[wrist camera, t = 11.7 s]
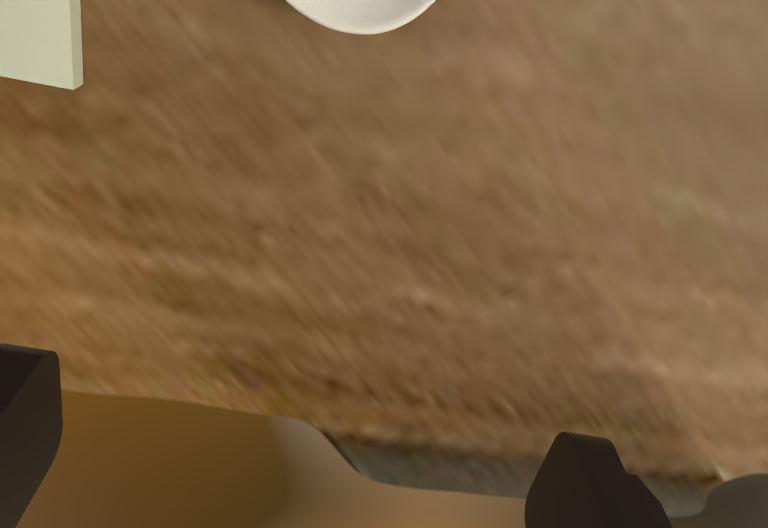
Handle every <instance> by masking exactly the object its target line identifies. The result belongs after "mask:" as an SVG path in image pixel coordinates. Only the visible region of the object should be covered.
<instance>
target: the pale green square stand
mask: <svg viewBox="0 0 768 528" xmlns="http://www.w3.org/2000/svg"><path fill="white" fill-rule="evenodd" d="M0 76H3V77H8V78H14V79H19V80H24V81H29V82H35V83H40V84H45V85H50V86H56V87H61V88H66V89H71V90H74V89H76V88H77V87H79V86H81V85H82V84H83V61H82V34H81V7H80V0H0Z"/></svg>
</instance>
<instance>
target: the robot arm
mask: <svg viewBox="0 0 768 528" xmlns="http://www.w3.org/2000/svg"><path fill="white" fill-rule="evenodd" d="M61 402H62V401H61V384H60V368H59V358H58V355H57V353H55V352H54V351H48V350H42V349H35V348H29V347H22V346H16V345H9V344H0V528H15V527H16V526H17V524H18V522H19V520H20V519H21V517H22V515H23V513H24V512H25V510H26V508H27V506H28V505H29V503H30V501H31V500H32V498H33V496H34V494H35V493H36V490H37V489H38V487H39V486H40V484H41V482H42V480H43V478H44V477H45V475H46V473H47V472H48V470H49V468H50V466H51V464H52V463H53V460H54V458H55V456H56V453H57V450H58V447H59V444H60V440H61V435H62V428H63V419H62V403H61ZM525 525H526V528H672V525H671V523H670V521H669V519H668V517H667V515H666V513H665V511H664V509H663V507H662V505H661V503H660V502H659V501H658V500H657V498H656V497H655V496H654V495H653V494H652V493H651V491H650V490H649V489H648V488H647V487H646V486H645V485H644V483H643V482H642V481H641V480H640V479H639V478H638V476H637V475H631V474H626V472H625V470H624V467H623V465H622V463H621V461H620V458H619V456H618V454H617V452H616V449H615V447H614V445H613V444H612V443H611V441H610V440H608V439H606V438H602V437H595V436H589V435H582V434H576V433H569V432H561V433H559V434H558V435H557V436H556V438H555V440H554V442H553V444H552V446H551V448H550V450H549V452H548V453H547V455H546V457H545V459H544V461H543V463H542V465H541V467H540V469H539V471H538V473H537V475H536V477H535V479H534V481H533V483H532V485H531V487H530V489H529V492H528V495H527V499H526V504H525Z"/></svg>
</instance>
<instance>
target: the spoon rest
mask: <svg viewBox="0 0 768 528" xmlns="http://www.w3.org/2000/svg"><path fill="white" fill-rule="evenodd" d="M286 1H287V2H288V3H289V4H290V5H291V6H293V7H294V8H295V9H296V10H298V11H299V12H301V13H302V14H304V15H305V16H307V17H308V18H310V19H311V20H313V21H315V22H317V23H319V24H321V25H323V26H326V27H328V28H330V29H334V30H337V31H341V32H346V33H352V34H378V33H383V32H387V31H390V30H393V29H396V28H398V27H400V26H402V25H404V24H406V23H408V22H410V21H411V20H413V19H414V18H416V17H417V16H419V15H420V14H421V13H423V12H424V11H425V10H426V9H427V8H428V7H429V6H430V5H431V4H432V3H434V2H435V1H436V0H286Z"/></svg>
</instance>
